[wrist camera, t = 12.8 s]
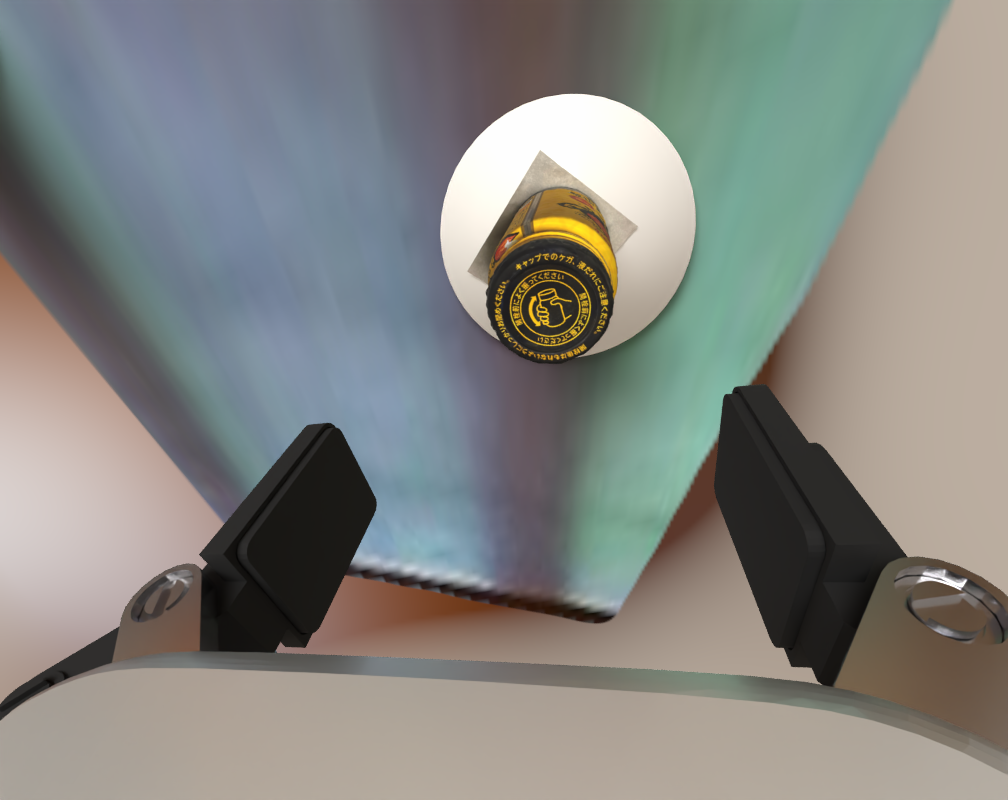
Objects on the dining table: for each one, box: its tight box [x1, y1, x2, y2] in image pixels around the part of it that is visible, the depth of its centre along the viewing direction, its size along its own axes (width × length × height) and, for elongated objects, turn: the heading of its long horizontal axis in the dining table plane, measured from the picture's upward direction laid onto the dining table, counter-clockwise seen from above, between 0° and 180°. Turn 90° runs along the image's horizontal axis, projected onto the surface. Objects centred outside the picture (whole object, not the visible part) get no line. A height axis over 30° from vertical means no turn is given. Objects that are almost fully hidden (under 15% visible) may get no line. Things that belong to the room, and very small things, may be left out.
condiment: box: [467, 150, 638, 364], centre depth 22 cm, size 7×8×12 cm
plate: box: [441, 94, 696, 357], centre depth 27 cm, size 16×16×1 cm
